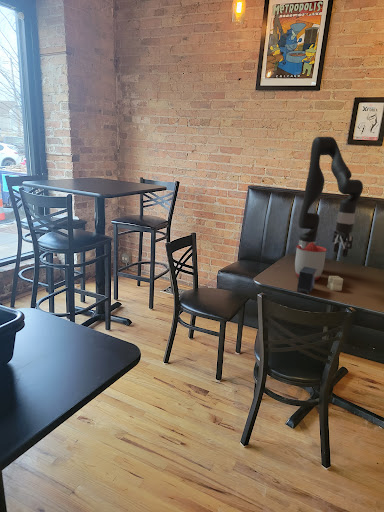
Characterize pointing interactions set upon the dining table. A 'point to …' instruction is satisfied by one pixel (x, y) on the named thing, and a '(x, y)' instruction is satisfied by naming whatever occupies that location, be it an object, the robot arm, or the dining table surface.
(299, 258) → the citrus juicer
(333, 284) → the maple block
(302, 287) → the small box
